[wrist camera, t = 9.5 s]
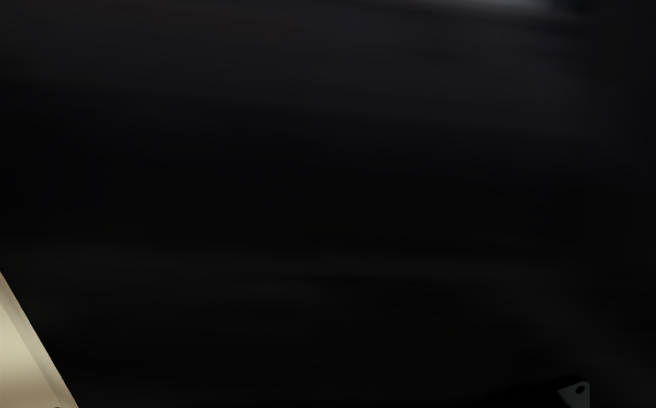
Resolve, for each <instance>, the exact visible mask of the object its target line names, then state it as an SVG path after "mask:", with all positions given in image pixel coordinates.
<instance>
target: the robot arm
mask: <svg viewBox="0 0 656 408" xmlns="http://www.w3.org/2000/svg"><path fill="white" fill-rule="evenodd" d="M55 408H60V407H55ZM491 408H590V386H589V383H588V382H587V381H586V380H585V379H584V378H583V377H582V376H575V377H572V378H570V379H567V380H564V381H561V382H559V383H556V384H553V385H551V386H548V387H545V388H543V389H540V390H537V391H534V392H532V393H529V394H526V395H524V396H521V397H518V398H515V399H513V400H510V401H507V402H505V403H502V404H499V405H496V406H494V407H491Z"/></svg>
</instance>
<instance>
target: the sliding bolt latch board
mask: <svg viewBox="0 0 656 408" xmlns="http://www.w3.org/2000/svg"><path fill="white" fill-rule="evenodd" d="M55 407H60V408H78V406H77V404H76V402H75V401H74V399H73V397H72V395H71V394H70V392H69V390H68V388H67V387H66V385H65V383H64V381H63V380H62V378H61V376H60V375H59V373H58V371H57V369H56V368H55V366H54V364H53V362H52V361H51V359H50V357H49V355H48V354H47V352H46V350H45V348H44V347H43V345H42V343H41V341H40V340H39V338H38V336H37V335H36V333H35V331H34V329H33V328H32V326H31V324H30V322H29V321H28V319H27V317H26V315H25V314H24V312H23V310H22V308H21V307H20V305H19V303H18V302H17V300H16V298H15V296H14V295H13V293H12V291H11V289H10V288H9V286H8V284H7V282H6V281H5V279H4V277H3V275H2V274H1V272H0V408H55Z"/></svg>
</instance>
